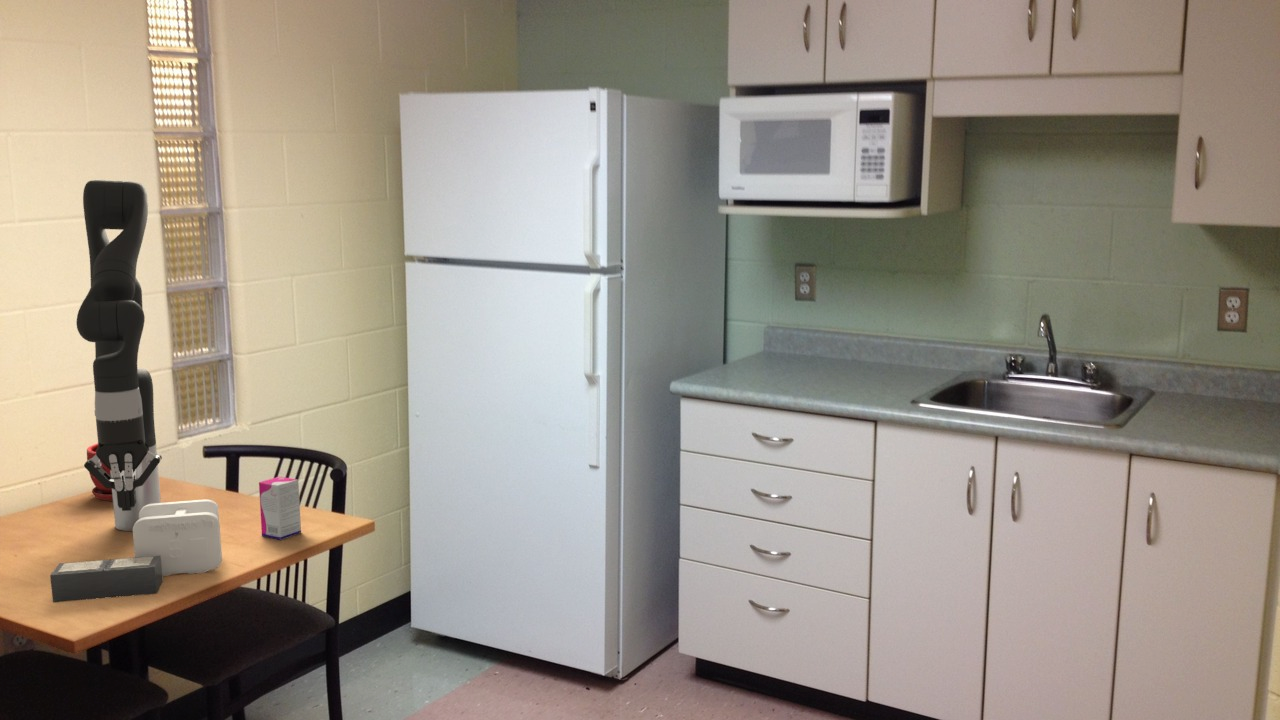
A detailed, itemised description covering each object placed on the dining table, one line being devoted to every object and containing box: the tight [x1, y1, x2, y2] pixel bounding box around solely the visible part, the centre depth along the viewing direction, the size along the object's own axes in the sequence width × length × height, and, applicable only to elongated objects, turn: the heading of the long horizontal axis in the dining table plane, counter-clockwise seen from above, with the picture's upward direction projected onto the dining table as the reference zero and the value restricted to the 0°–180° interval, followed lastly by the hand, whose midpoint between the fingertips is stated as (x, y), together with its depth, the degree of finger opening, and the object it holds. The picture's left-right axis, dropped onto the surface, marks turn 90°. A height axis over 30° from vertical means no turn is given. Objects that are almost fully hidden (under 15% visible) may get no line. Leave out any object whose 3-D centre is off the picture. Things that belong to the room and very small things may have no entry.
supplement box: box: [258, 476, 302, 541], centre depth 234 cm, size 6×6×12 cm
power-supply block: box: [49, 556, 164, 603], centre depth 203 cm, size 6×17×5 cm, turn 103°
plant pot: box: [86, 442, 113, 502], centre depth 262 cm, size 13×13×12 cm
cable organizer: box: [132, 498, 223, 578], centre depth 215 cm, size 15×11×12 cm
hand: (127, 509), depth 202 cm, fingers closed
